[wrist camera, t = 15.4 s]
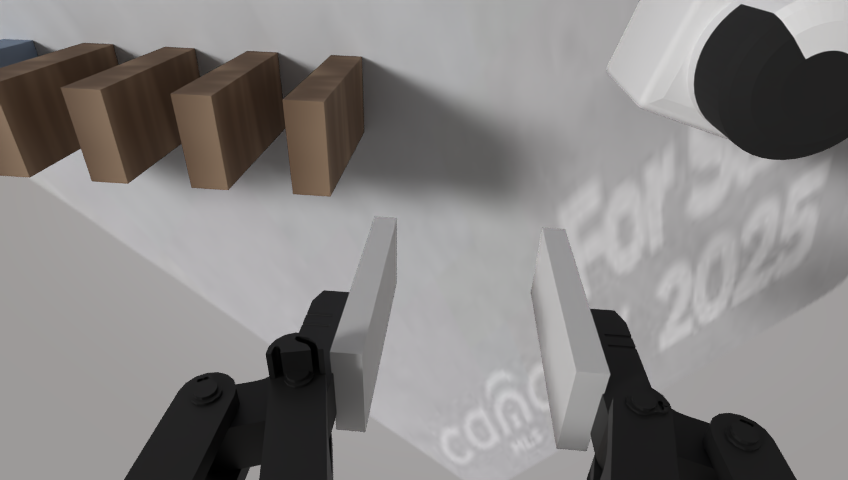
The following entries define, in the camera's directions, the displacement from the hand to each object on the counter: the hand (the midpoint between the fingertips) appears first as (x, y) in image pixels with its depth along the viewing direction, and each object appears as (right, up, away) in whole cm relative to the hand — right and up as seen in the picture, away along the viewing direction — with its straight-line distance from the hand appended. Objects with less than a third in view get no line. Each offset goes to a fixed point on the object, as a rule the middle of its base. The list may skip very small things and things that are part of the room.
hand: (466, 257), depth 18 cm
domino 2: (-18, +11, +17) cm, 27 cm away
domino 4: (-7, +10, +16) cm, 20 cm away
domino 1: (-23, +11, +17) cm, 31 cm away
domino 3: (-12, +11, +17) cm, 23 cm away
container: (+15, +13, +13) cm, 24 cm away
